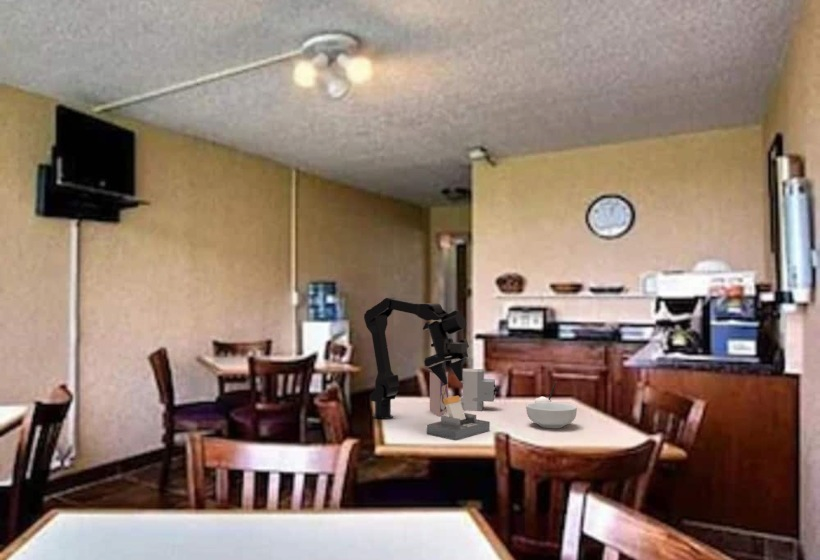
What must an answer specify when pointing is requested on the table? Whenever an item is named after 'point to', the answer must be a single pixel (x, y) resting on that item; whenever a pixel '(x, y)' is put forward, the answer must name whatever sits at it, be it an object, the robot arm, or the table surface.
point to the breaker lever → (454, 408)
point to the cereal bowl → (551, 414)
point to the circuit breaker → (476, 390)
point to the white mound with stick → (544, 399)
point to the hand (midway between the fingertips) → (453, 382)
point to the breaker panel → (458, 427)
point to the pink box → (438, 395)
